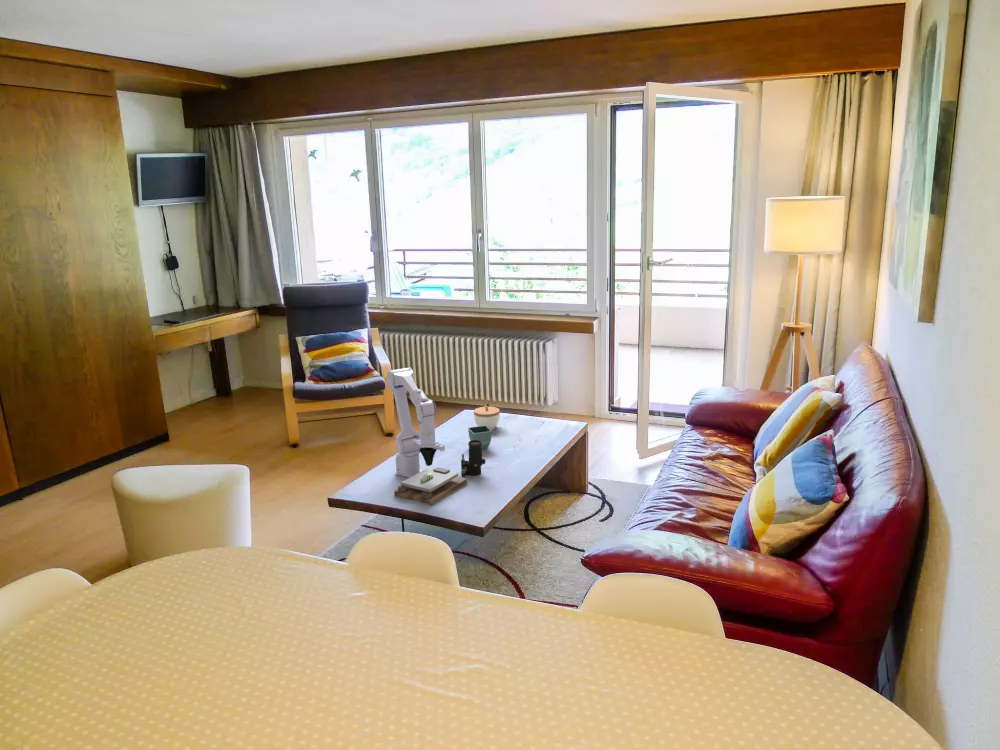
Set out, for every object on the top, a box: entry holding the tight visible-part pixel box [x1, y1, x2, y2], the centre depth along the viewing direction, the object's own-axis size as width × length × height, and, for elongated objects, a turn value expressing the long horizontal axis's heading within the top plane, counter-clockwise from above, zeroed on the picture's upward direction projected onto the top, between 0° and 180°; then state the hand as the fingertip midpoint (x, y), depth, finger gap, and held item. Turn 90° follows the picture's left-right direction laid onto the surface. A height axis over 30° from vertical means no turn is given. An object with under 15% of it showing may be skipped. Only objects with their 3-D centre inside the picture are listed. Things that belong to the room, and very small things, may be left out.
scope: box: [460, 440, 486, 478], centre depth 289 cm, size 8×14×10 cm
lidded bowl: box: [473, 405, 501, 431], centre depth 343 cm, size 13×13×11 cm
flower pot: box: [467, 425, 493, 450], centre depth 318 cm, size 9×9×9 cm
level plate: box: [400, 466, 459, 492], centre depth 275 cm, size 14×18×3 cm
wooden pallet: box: [393, 476, 468, 506], centre depth 277 cm, size 18×23×4 cm
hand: (429, 464), depth 274 cm, fingers closed
